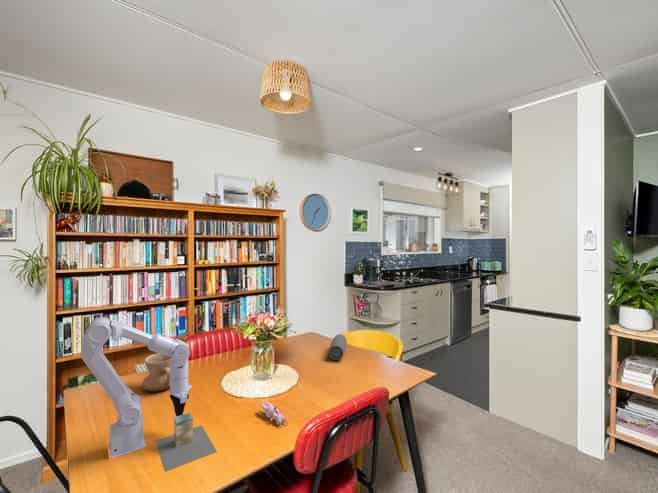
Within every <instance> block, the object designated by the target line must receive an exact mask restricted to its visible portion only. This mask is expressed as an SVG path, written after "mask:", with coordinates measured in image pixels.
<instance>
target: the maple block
mask: <svg viewBox="0 0 658 493" xmlns="http://www.w3.org/2000/svg"><path fill="white" fill-rule="evenodd" d="M173 422H174V423H173V434H174V442H175V444H176V447H179V446H181V445H184V444H187V443H190V442H193V428H194V417H193V415H192V413H191V412H188V413H185V414H184V413H183V415H180V416H174V417H173Z"/></svg>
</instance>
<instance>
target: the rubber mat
mask: <svg viewBox="0 0 658 493" xmlns="http://www.w3.org/2000/svg"><path fill="white" fill-rule="evenodd" d="M155 444H156V447H157V449H158V452H159V453H158V454H159V455H160V456H159V457H160V460H161V463H162V466H163V469H164V472H165V473H166V472H168V471H171V470H174V469H177V468H179V467H182V466H184V465H187V464H189V463H191V462H194V461H197V460H200V459H202V458H205V457H208V456H210V455H213V454H216V453H217V452H218V450H217V449H216V447H215V446H214V443H213V442H212V441H211V439H210V437H209V435H208V433H207V432H206V430H205V428H204V426H203V425H199V426H195V427H193V442H190V443H187V444H184V445H181V446H179V447H176V444H175V442H174V433H173V434H171V435H168V436H165V437H162V438H158V439H156V440H155Z"/></svg>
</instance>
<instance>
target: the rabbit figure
mask: <svg viewBox="0 0 658 493" xmlns="http://www.w3.org/2000/svg"><path fill="white" fill-rule="evenodd" d="M260 406H261V408H262V409H263V411H264V412H265V413H266V414H265V416H266V417H267V418H268V419H270V421H271V422H272V421H273V420H275V424H276V425H277V426H280V428H282V427H283V424H285V425H288V420H287V418H285V413H280V411H279V409H278V406H277V405H273V404H272V403H271V402H264V404H261V405H260Z"/></svg>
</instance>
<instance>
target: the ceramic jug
mask: <svg viewBox="0 0 658 493" xmlns="http://www.w3.org/2000/svg"><path fill="white" fill-rule="evenodd" d="M144 364H145V367H146V369H147V371H148V373H149V374H148V375H147V376H146V377H144V379H143V380H142V382H141V386H142V388H143V390H145V391H147V392H162V391H165V390H167V389H170V365H171V356H165V355H162V354H160V353H156V354H152V355H149V356H147V357H146V358H145V359H144Z"/></svg>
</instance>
